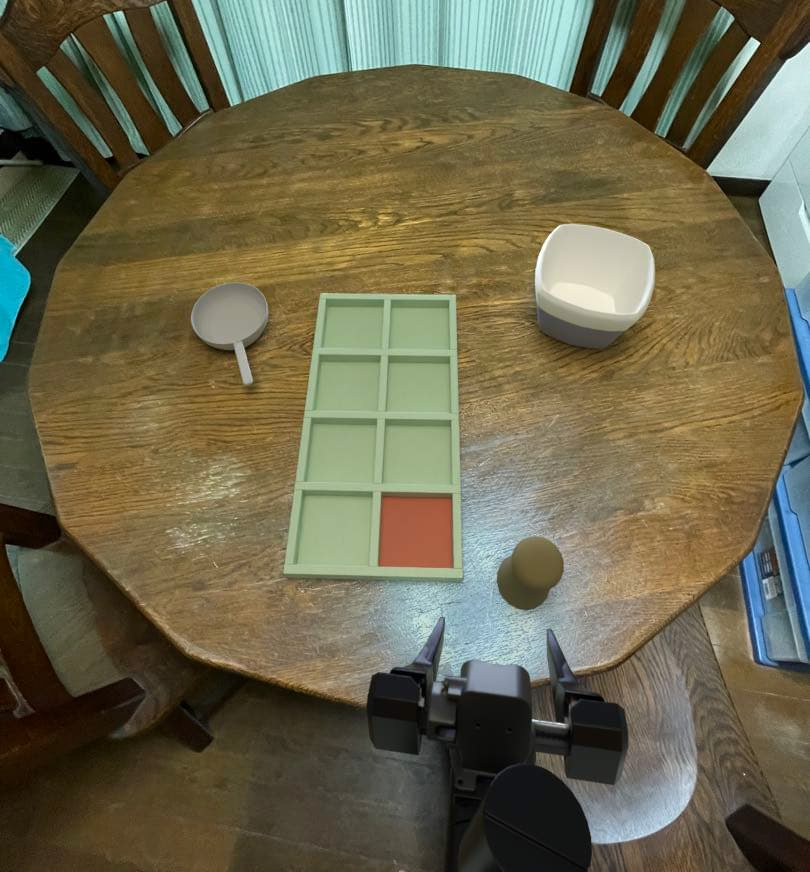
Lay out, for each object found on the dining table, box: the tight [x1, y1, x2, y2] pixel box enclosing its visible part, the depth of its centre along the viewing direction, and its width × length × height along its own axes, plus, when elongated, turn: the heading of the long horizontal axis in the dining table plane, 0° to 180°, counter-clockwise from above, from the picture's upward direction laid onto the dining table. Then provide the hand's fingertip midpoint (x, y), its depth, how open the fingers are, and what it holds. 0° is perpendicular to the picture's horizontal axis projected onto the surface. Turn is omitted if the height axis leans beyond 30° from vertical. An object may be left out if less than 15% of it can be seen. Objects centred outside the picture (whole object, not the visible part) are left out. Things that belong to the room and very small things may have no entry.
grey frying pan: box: [190, 281, 269, 386], centre depth 83 cm, size 11×18×4 cm, turn 21°
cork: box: [496, 535, 565, 611], centre depth 62 cm, size 6×6×11 cm
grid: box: [282, 292, 464, 583], centre depth 77 cm, size 39×20×2 cm, turn 178°
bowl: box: [534, 223, 656, 350], centre depth 82 cm, size 15×15×11 cm
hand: (495, 625), depth 52 cm, fingers open, 9 cm apart
